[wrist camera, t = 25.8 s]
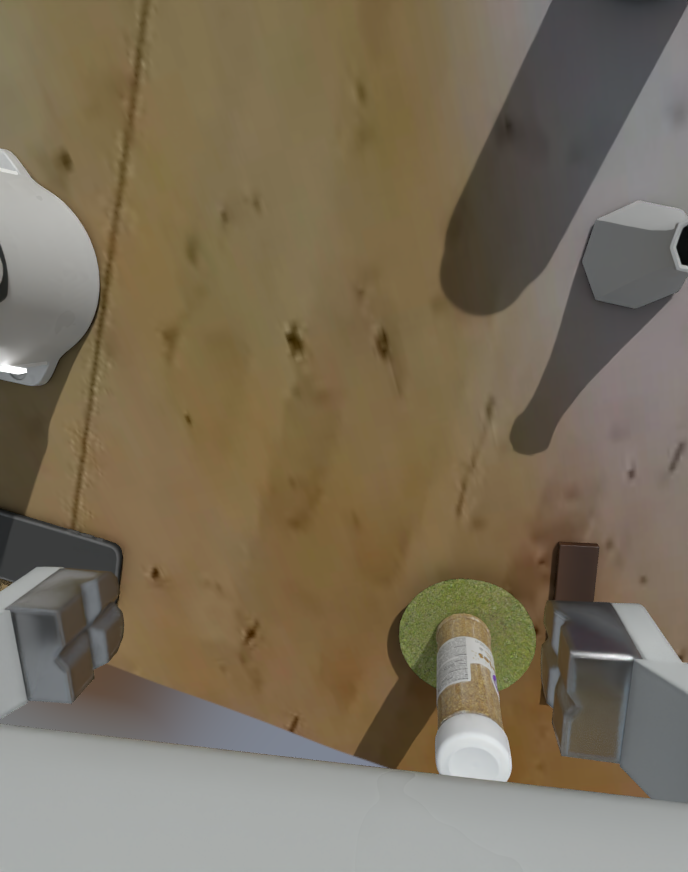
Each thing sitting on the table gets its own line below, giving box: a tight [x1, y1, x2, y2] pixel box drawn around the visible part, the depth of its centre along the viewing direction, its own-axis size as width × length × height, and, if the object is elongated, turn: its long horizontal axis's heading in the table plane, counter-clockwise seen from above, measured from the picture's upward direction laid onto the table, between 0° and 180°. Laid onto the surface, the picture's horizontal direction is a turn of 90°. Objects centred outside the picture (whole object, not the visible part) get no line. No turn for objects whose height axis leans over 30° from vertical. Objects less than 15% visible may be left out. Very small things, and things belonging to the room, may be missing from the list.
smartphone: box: [0, 509, 122, 604], centre depth 52 cm, size 7×1×15 cm
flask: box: [582, 200, 688, 309], centre depth 33 cm, size 7×7×10 cm
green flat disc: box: [399, 578, 536, 691], centre depth 47 cm, size 11×11×2 cm
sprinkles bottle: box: [435, 613, 512, 782], centre depth 39 cm, size 5×5×13 cm
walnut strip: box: [554, 542, 599, 602], centre depth 46 cm, size 3×15×1 cm, turn 1°
